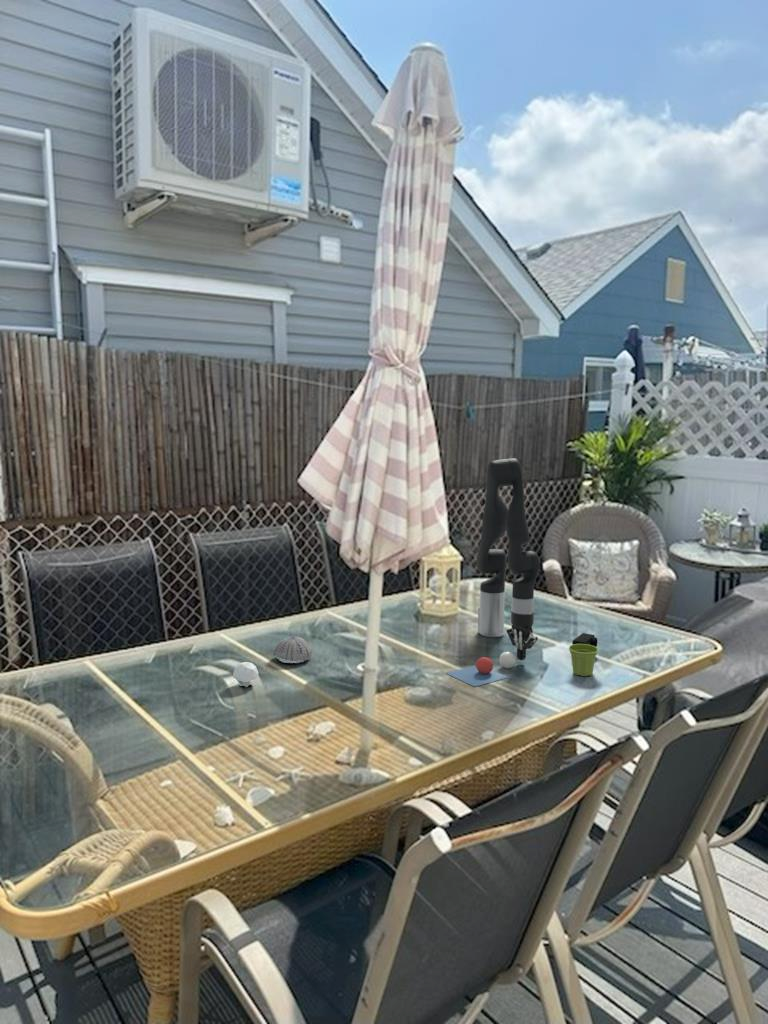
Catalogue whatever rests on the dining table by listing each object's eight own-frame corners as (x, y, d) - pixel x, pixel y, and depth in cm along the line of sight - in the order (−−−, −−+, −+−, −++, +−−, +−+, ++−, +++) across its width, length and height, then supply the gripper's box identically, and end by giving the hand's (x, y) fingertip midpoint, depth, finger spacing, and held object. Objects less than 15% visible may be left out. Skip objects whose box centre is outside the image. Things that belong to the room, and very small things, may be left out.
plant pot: (564, 675, 233) (565, 650, 231) (571, 666, 241) (572, 642, 240) (594, 680, 228) (595, 654, 227) (600, 671, 237) (601, 646, 235)
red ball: (485, 668, 238) (473, 673, 236) (484, 653, 238) (472, 657, 235) (497, 673, 234) (484, 678, 231) (496, 657, 233) (483, 662, 230)
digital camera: (587, 662, 245) (587, 643, 244) (571, 659, 248) (572, 640, 247) (597, 654, 253) (598, 635, 252) (582, 651, 257) (583, 632, 256)
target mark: (446, 673, 235) (446, 673, 235) (478, 665, 242) (478, 664, 242) (474, 687, 223) (474, 686, 223) (507, 677, 231) (507, 677, 231)
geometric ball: (250, 696, 223) (252, 682, 218) (227, 685, 224) (228, 671, 219) (261, 677, 229) (263, 663, 223) (239, 667, 230) (241, 653, 224)
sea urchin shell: (315, 654, 254) (315, 632, 253) (308, 667, 241) (307, 644, 240) (279, 652, 256) (278, 631, 254) (269, 666, 242) (268, 643, 241)
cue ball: (508, 649, 243) (506, 665, 243) (497, 649, 240) (494, 666, 240) (520, 653, 239) (518, 669, 239) (508, 653, 236) (506, 670, 236)
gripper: (500, 607, 245) (499, 656, 247) (528, 616, 234) (527, 667, 236) (516, 604, 249) (515, 652, 251) (544, 612, 238) (543, 663, 240)
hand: (521, 659), depth 244 cm, fingers closed
